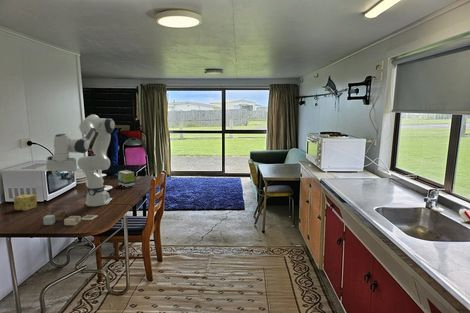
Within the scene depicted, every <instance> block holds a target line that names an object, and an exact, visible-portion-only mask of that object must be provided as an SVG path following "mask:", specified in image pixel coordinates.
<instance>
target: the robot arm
mask: <svg viewBox="0 0 470 313" xmlns="http://www.w3.org/2000/svg"><path fill="white" fill-rule="evenodd" d="M78 126H79V127H78V128H79V130H80V132H81V133H82V134H83V135H84V137H82V138H71V137H69V136H68V134H67V133H58V134H56V135H54V138H53V148H54V152H53V155H50V156H48V157H46V160H47V161H46V164H45V168H46V171H48V172H51V173H52V176H53V178H54V179H55V178H56V179H57V178H58V175H57V174H56V172H67V173H68V174H67V175H66V179H69V178H70V179H71V175H72V173H73V172H76V171H78V168H79V169H80V170H82V171H83V173H84V175H85V177H86V180H87V181H86V182H87V183H88V184H87V185H88V187H87V188H86V191H87V192H86V200H85V202H84V204H85V205H86V206H88V207H100V206H104V205H105V206H106V205H108V204H110V203H111V202H112V201H113V200H112V199H113V197H110V193H109V192H108V191H105V189H104V188H106V186H107V185H104V182H103V180H104V177H102V176H101V175H99V174H98V170H102V171H105V170H109V168H110V166H111V160H110V158H109V157H108V156H107V152H108V148H109V146H110V143H111V136H112V135H111V134H112V133H113V131H114V130H115V127H116V122H115V120H114V119H113V118H100V117H99V116H98V115H96V114H90V115H88V116H87V117H85V118H84V119H83V120H82V121H81V122H80V123H79V125H78ZM96 134H98V135H97V136H96ZM95 136H96V138H95ZM94 138H95V140H93V139H94ZM93 141H94V142H93ZM92 142H93V144H92ZM91 144H92V148H91V149H92V152H93V153H94V154H95V155H94V156H93V155H90V156H89V155H85V156H81V157H79V158H78V159H76V158H75V157H70V153H75V154H76V153H79V154H85V153H87V152H88V150H89V149H90V146H91ZM111 200H112V201H111ZM110 201H111V202H110Z"/></svg>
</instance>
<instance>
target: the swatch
mask: <svg viewBox="0 0 470 313" xmlns="http://www.w3.org/2000/svg"><path fill="white" fill-rule="evenodd" d="M97 217H99V215H97V214H96V215H95V214H87V215H85V216H82V217H81V221H84V220H85V221H91V220H94V219H96V218H97Z"/></svg>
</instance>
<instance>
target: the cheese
mask: <svg viewBox="0 0 470 313" xmlns="http://www.w3.org/2000/svg"><path fill="white" fill-rule="evenodd" d="M37 199H38V198H37V195H36V194H20V195H18V196H15V197H13V204H14V205H13V206H14V210H16V211H24V212H26V211H29V210H33V209H35V208H37V206H38V203H37V202H38V200H37Z"/></svg>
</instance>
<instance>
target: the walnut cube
mask: <svg viewBox="0 0 470 313" xmlns="http://www.w3.org/2000/svg"><path fill="white" fill-rule="evenodd" d="M52 215H55V221H63V220H64V219H66V212H65V211H63V210H57V211H55V212H53V213H52Z"/></svg>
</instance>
